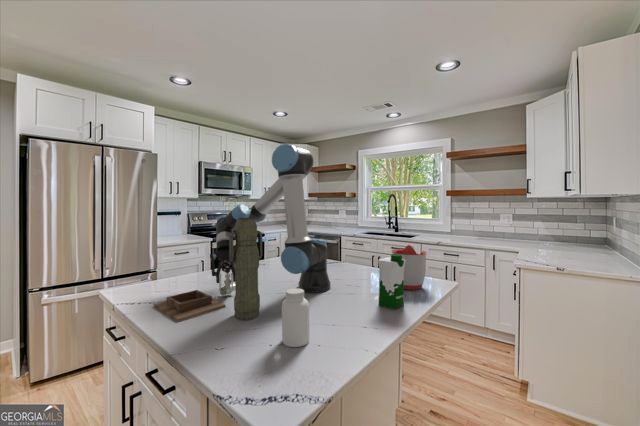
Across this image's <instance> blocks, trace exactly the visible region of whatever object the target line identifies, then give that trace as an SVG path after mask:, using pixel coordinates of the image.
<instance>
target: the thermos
mask: <svg viewBox="0 0 640 426" xmlns="http://www.w3.org/2000/svg"><path fill="white" fill-rule="evenodd" d="M234 241H235V244H234ZM233 245H234V251H233ZM229 257H230V262H233V265H234V269H235V282H234V284H235V290H234V291H235V295H234V298H233V310H234V318H235V319H236V320H239V321H251V320H254V319H257V318H258V317H260V315H261V314H260V308H261V302H260V301H261V299H260V298H261V296H260V294H259V267H260V260H261V259H262V258H263V233H262V232H261V230H258V225H257V222H255V219H253V218H239V219H237V221H236V224H235V229H234V230H233V232H231V234H230V235H229Z"/></svg>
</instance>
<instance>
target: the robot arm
mask: <svg viewBox="0 0 640 426" xmlns="http://www.w3.org/2000/svg"><path fill="white" fill-rule="evenodd" d="M271 163H272V167H273V168H274V169H275V170H276V171H277V174H278V175H277V176H278V179H277V180H276V181H275V182H274V183H273V184H272V185H271V186H270V187H269V188H268V189H267V190H266V191H265V193H263V195H261V197H260V198H258V200H257V201H256V202H255V203H254V204H253V205H252V206H251V207H248V206H247V205H244V204H243V203H239V204H238V205H236V206H235V207H234V208H232V209H231V210H230V212H229V213H228V214H222V215H219V216H218V217H217V218H216V223H215V228H216V230H215V231H216V232H215V233H216V236H215V237H216V239H215V241H216V251H215V253H214V254H209V259H210V263H211V264H210V265H211V276H212V277H216V279H215V283H217V284H218V285H219V286H218V287H219V289H218V290H219V292H220V291H221V288H222V274H221V271H222V269H221V270H219V267H221V266H223V263H224V262H228V265H234V263H233V262H230V257H229V235H230V234H231V232H233V231H235V224H236V221H237V219H239V218H253V219H255V222H256V223H259V222H263V221H265V219H266V216H267V213H268V212H270V210H271V209H272V208H273V207H274V206H275V205H276V204H277V203H278V202H279V201H280V200H281V199H282V198H283V200H284V201H283V202H284V211H285V224H286V231H287V233H286V234H287V238H286V239H285V241H284V249H283V251H282V252H281V255H280V262H281V265H282V267H283V268H284V269H285V270H286V271H287V272H289V273H290V274H292V275H293V274H294V275H298V274H299V275H300V277H299V281H298V283H297V284H298V287H297V288H298V289H303V290H304V293H305V292H307V293H321V292H326V291H329V290H330V289H331V284H332V283H331V281H330V278H329V274H328V269H327V268H328V266H327V265H328V263H327V262H328V261H327V260H328V256H327V255H328V246H327V241H326V240H325V239H320V238H319V239H318V238H311V237H310V236H309V235H308V224H307V215H306V214H307V213H306V204H305V203H306V202H305V193H304V183H303V182H304V181H303V180H304V179H305V178H306V177H307V176H308V175H309V173H311V171H312V169H313V167H314V156H313V154H312V153H311V152H310V151H309V150H308V149H306V148H304V147H300V146H297V145H295V144H292V143H291V144H290V143H283V144H280V145H279V146H277V147H275V150H274V151H273V153H272V155H271ZM234 250H235V244H233V251H234ZM216 258H217V259H218V260H219V261H218V264H217V268H215V267H216V266H215V260H216ZM215 270H216V271H215ZM230 272H231V273H230V280H231V286H232V290H234V285H233V283H235V269H232V268H231V270H230ZM234 291H235V290H234Z"/></svg>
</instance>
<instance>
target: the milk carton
mask: <svg viewBox="0 0 640 426" xmlns="http://www.w3.org/2000/svg"><path fill="white" fill-rule="evenodd" d="M377 263H378V268H379V270H378V272H379V274H378V276H379V278H378V280H379V281H378V282H379V283H378V286H379V287H378V288H379V289H378V291H379V292H378V306H381V307H385V308H388V309H391V310H396V309H399V308H400V307H403V306H404V305H405V299H404V298H405V297H404V296H405V295H404V290H405V289H404V267H405V260H403V259H402V255H399V254H390V256H388V257H384V258H381V259H377Z"/></svg>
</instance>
